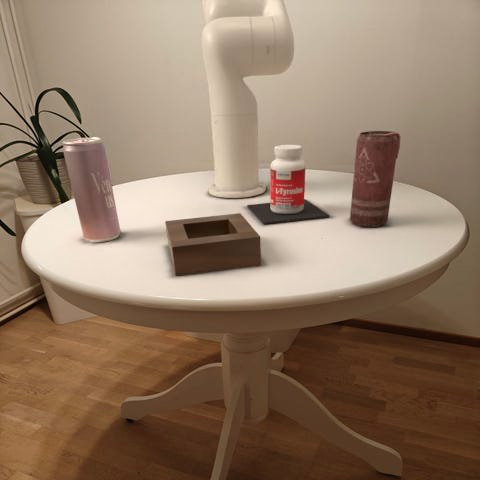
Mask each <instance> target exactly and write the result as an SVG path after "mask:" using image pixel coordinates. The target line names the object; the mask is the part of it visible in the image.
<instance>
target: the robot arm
mask: <svg viewBox="0 0 480 480" xmlns="http://www.w3.org/2000/svg"><path fill="white" fill-rule="evenodd" d="M201 7H202V13H203V19H204V23H205V26H204V27H203V29H202V32H201V37H200V46H201V53H202V58H203V59H202V60H203V64H204V69H205V73H206V80H207V87H208V97H209V107H210V123H211V136H212V139H211V140H212V149H213V151H212V152H213V164H214V165H213V169H214V178H215V179H214V181H215V183H213V184H211V185H210V186H209V187H208V193H209V194H210V195H211V196H214V197H218V198H225V199H240V198H250V197H253V196H255V197H256V196H259V195H261V194H263V193H265V192H266V190H267V189H266V188H267V185H266V183H264V182H262V181H259V180H260V177H259V129H258V128H259V127H258V125H259V124H258V121H259V120H258V118H259V117H258V102H257V98H256V96H255V94H254V92H253V91H252V89H250V87H249V86H248V84H247V83H246V82H245V80H244V78H248V77H258V76H259V77H260V76H275V75H281V74H283V73H285V72H287V71H288V70H289V68H290V67H291V66H292V63H293V59H294V56H295V39H294V33H293V28H292V24H291V21H290V18H289V15H288V11H287V8H286V5H285V1H284V0H201Z"/></svg>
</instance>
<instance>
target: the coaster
mask: <svg viewBox="0 0 480 480" xmlns="http://www.w3.org/2000/svg"><path fill="white" fill-rule="evenodd" d="M246 207H247V208H248V209H249V211H250V212H251V213H252V214H254V216H255V217H256V218H257V219H258V220H259V221H260V222H261V223H262V224H263V225H264V226H265V225H274V224H284V223H291V222H301V221H309V220H318V219H319V220H320V219H328V218H330V215H329V213H327V212H325V211H324V210H322V209H320V208H319V207H318V206H316V205H315V204H313V203H312V202H310V201H309V200H307V199H306V198H304V209H303V210H302V211H301V212H300V213H296V214H277V213H274V212H273V211H271V208H270V202H264V203H255V204H247V205H246Z"/></svg>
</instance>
